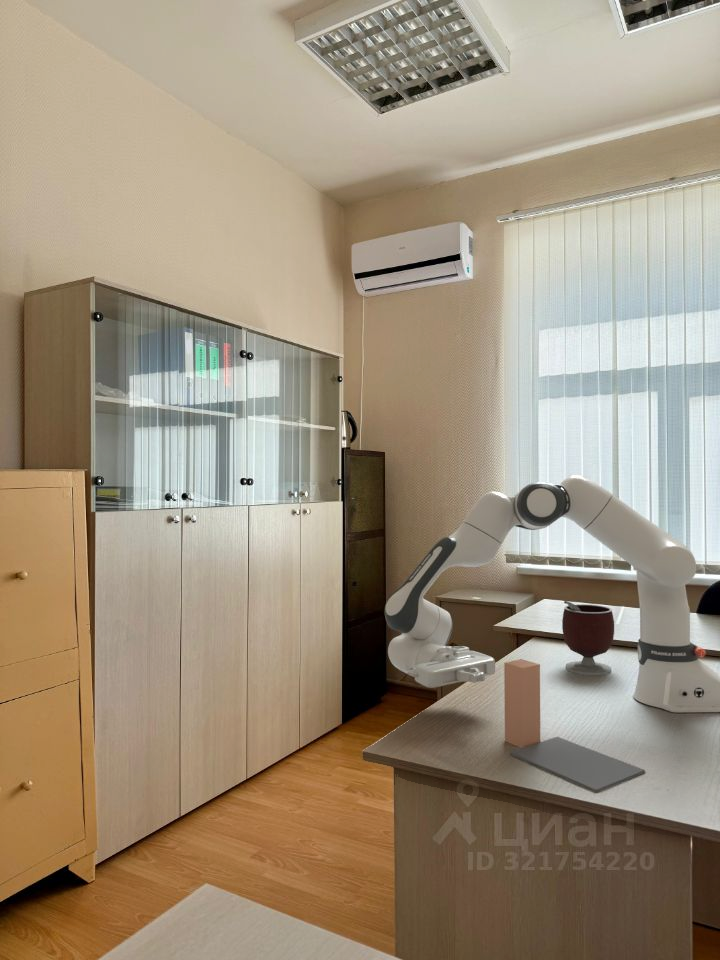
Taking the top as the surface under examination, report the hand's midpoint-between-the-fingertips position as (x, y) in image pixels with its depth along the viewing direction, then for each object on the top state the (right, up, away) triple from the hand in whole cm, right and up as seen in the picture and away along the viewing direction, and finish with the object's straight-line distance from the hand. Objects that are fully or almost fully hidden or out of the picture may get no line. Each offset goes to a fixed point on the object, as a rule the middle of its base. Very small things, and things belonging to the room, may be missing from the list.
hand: (480, 678), depth 151 cm
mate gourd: (+37, -10, +43) cm, 58 cm away
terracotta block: (+7, -10, -10) cm, 16 cm away
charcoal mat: (+14, -10, -21) cm, 27 cm away
